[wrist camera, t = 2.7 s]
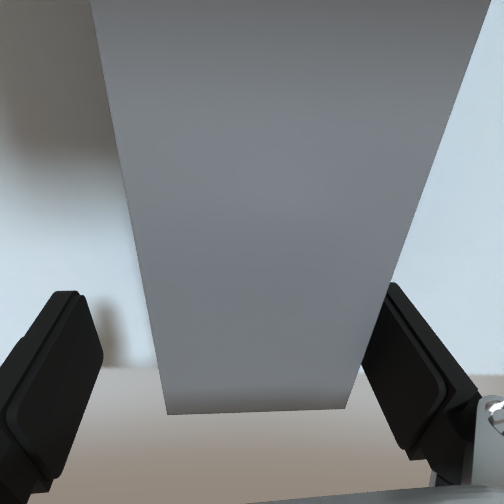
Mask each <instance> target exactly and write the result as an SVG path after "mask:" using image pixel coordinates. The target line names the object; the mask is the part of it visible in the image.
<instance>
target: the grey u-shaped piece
mask: <svg viewBox="0 0 504 504" xmlns="http://www.w3.org/2000/svg"><path fill="white" fill-rule="evenodd" d="M89 1H90V6H91V12H92V17H93V22H94V27H95V33H96V38H97V43H98V49H99V54H100V59H101V65H102V70H103V75H104V81H105V86H106V91H107V97H108V102H109V107H110V113H111V118H112V123H113V128H114V134H115V139H116V144H117V150H118V155H119V160H120V166H121V171H122V176H123V182H124V187H125V192H126V198H127V203H128V208H129V214H130V219H131V224H132V229H133V235H134V240H135V245H136V251H137V256H138V261H139V267H140V272H141V277H142V283H143V288H144V293H145V299H146V304H147V309H148V315H149V320H150V325H151V330H152V336H153V341H154V346H155V352H156V357H157V362H158V368H159V373H160V378H161V383H162V389H163V394H164V399H165V405H166V410H167V415H183V414H212V413H237V412H238V413H240V412H268V411H298V410H326V409H345V407H346V404H347V401H348V398H349V396H350V393H351V390H352V387H353V385H354V382H355V379H356V376H357V373H358V371H359V368H360V365H361V362H362V359H363V357H364V354H365V351H366V348H367V346H368V343H369V340H370V337H371V334H372V332H373V329H374V326H375V323H376V320H377V318H378V315H379V312H380V309H381V306H382V304H383V301H384V298H385V295H386V293H387V290H388V287H389V284H390V281H391V279H392V276H393V273H394V270H395V267H396V265H397V262H398V259H399V256H400V253H401V251H402V248H403V245H404V242H405V240H406V237H407V234H408V231H409V228H410V226H411V223H412V220H413V217H414V214H415V212H416V209H417V206H418V203H419V200H420V198H421V195H422V192H423V189H424V187H425V184H426V181H427V178H428V175H429V173H430V170H431V167H432V164H433V161H434V159H435V156H436V153H437V150H438V147H439V145H440V142H441V139H442V136H443V134H444V131H445V128H446V125H447V122H448V120H449V117H450V114H451V111H452V108H453V106H454V103H455V100H456V97H457V94H458V92H459V89H460V86H461V83H462V81H463V78H464V75H465V72H466V69H467V67H468V64H469V61H470V58H471V55H472V53H473V50H474V47H475V44H476V41H477V39H478V36H479V33H480V30H481V27H482V25H483V22H484V19H485V16H486V14H487V11H488V8H489V5H490V2H491V0H89Z"/></svg>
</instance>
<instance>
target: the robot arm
mask: <svg viewBox="0 0 504 504" xmlns="http://www.w3.org/2000/svg"><path fill="white" fill-rule="evenodd" d="M102 362H103V350H102V347H101V344H100V341H99V338H98V335H97V332H96V329H95V326H94V323H93V319H92V316H91V313H90V310H89V307H88V304H87V301H86V298H85V296H84V295H80V294H79V292H77V291H56V292H54V293H53V294H52V296H51V297H50V299H49V300H48V302H47V303H46V305H45V306H44V308H43V309H42V311H41V312H40V313H39V315H38V316H37V318H36V319H35V321H34V322H33V324H32V325H31V327H30V328H29V330H28V331H27V333H26V334H25V336H24V337H22V338H21V339H20V340H19V341H18V342H17V344H16V345H15V347H14V348H13V350H12V351H11V352H10V354H9V355H8V357H7V358H6V360H5V361H4V363H3V364H2V366H1V367H0V504H27V502H28V500H29V497H30V495H31V494H34V493H45V492H49V490H50V488H51V485H52V482H53V480H54V479H56V478H58V477H59V476H60V475H61V473H62V471H63V469H64V466H65V463H66V460H67V458H68V455H69V452H70V450H71V447H72V444H73V441H74V439H75V436H76V433H77V431H78V427H79V425H80V422H81V420H82V417H83V414H84V412H85V409H86V406H87V403H88V401H89V398H90V395H91V393H92V390H93V387H94V384H95V382H96V379H97V376H98V374H99V371H100V368H101V365H102ZM361 365H362V367H363V370H364V372H365V374H366V376H367V378H368V380H369V383H370V385H371V387H372V389H373V391H374V394H375V396H376V398H377V400H378V402H379V405H380V407H381V409H382V411H383V413H384V415H385V417H386V420H387V422H388V424H389V426H390V429H391V431H392V433H393V435H394V437H395V440H396V442H397V444H398V446H399V447H400V448H401V449H403V450H405V451H406V453H407V456H408V458H409V460H423V459H427V461H428V463H429V465H430V467H431V469H432V471H431V477H430V483H429V487H426V488H412V489H399V490H387V491H377V492H366V493H355V494H344V495H333V496H322V497H312V498H301V499H290V500H280V501H270V502H259V503H249V504H504V397H501V396H496V395H488V396H484V397H482V396H481V395H480V393H479V392H478V391H477V390H478V388H477V387H476V386H475V385H474V384H473V382H472V381H471V379H470V378H469V377H468V375H467V374H466V373H465V372H464V370H463V369H462V368H461V366H460V365H459V364H458V362H457V361H456V360H455V359H454V357H453V356H452V355H451V353H450V352H449V351H448V349H447V348H446V347H445V346H444V344H443V343H442V342H441V340H440V339H439V338H438V336H437V335H436V334H435V332H434V331H433V330H432V329H431V327H430V326H429V325H428V323H427V322H426V321H425V319H424V318H423V317H422V316H421V314H420V313H419V312H418V310H417V309H416V308H415V306H414V305H413V304H412V303H411V301H410V300H409V299H408V297H407V296H406V295H405V293H404V292H403V291H402V290H401V288H400V287H399V286H398V285H397V284H396V283H394V282H390V284H389V287H388V290H387V293H386V295H385V298H384V301H383V304H382V306H381V309H380V312H379V315H378V318H377V320H376V323H375V326H374V329H373V332H372V334H371V337H370V340H369V343H368V346H367V348H366V351H365V354H364V357H363V359H362V362H361Z"/></svg>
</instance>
